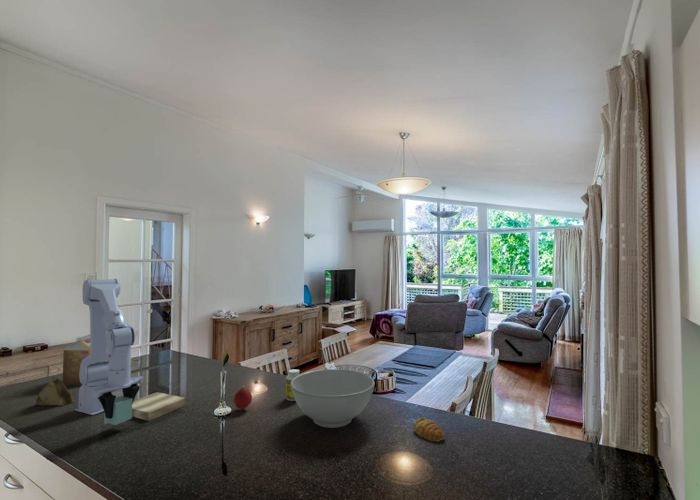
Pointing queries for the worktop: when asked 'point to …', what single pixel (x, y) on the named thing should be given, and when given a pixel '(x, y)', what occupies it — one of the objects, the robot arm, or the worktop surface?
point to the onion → (242, 398)
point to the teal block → (120, 410)
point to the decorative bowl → (332, 395)
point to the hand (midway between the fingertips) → (118, 414)
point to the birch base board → (156, 405)
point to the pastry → (428, 430)
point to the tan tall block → (75, 359)
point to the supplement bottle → (289, 378)
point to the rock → (54, 394)
